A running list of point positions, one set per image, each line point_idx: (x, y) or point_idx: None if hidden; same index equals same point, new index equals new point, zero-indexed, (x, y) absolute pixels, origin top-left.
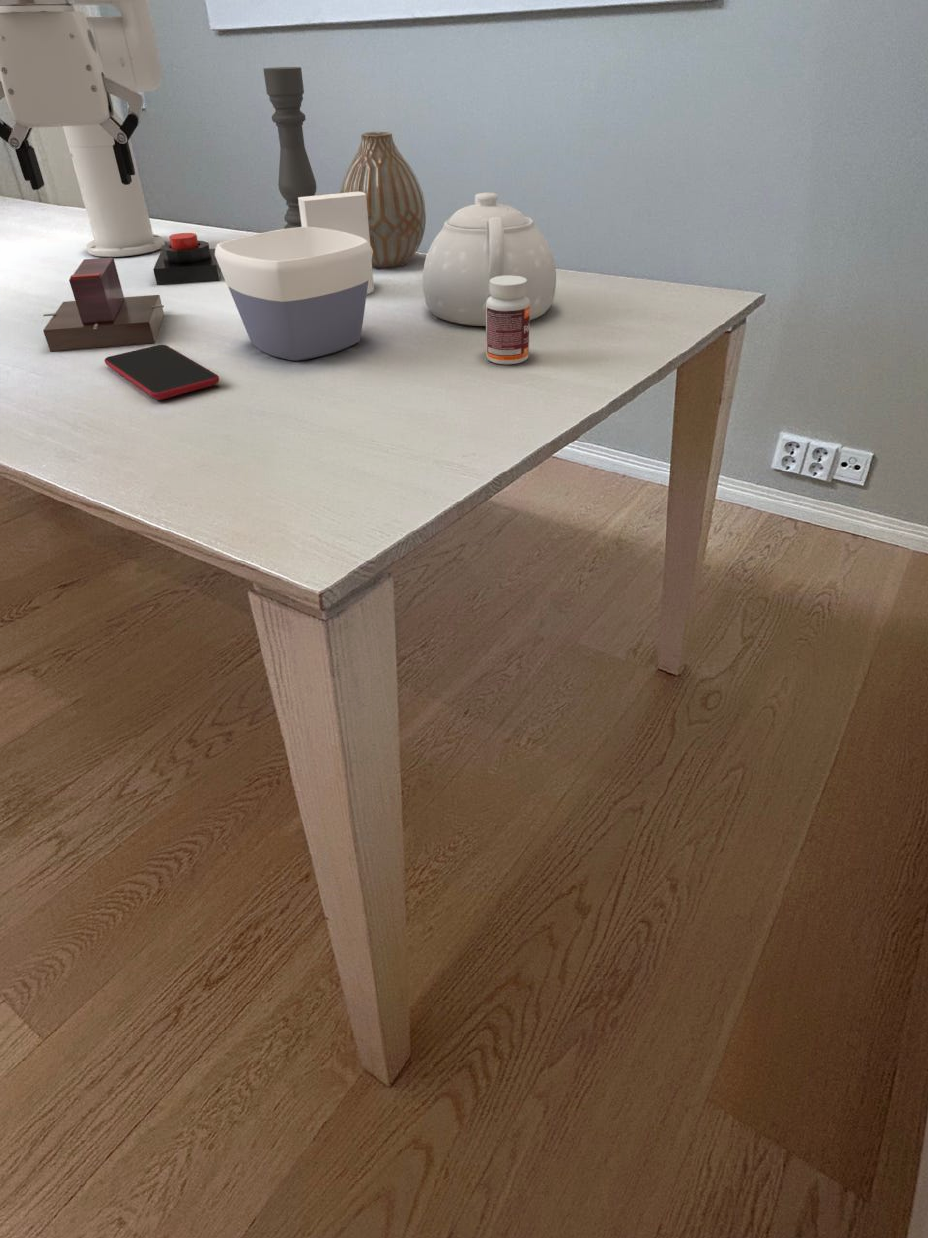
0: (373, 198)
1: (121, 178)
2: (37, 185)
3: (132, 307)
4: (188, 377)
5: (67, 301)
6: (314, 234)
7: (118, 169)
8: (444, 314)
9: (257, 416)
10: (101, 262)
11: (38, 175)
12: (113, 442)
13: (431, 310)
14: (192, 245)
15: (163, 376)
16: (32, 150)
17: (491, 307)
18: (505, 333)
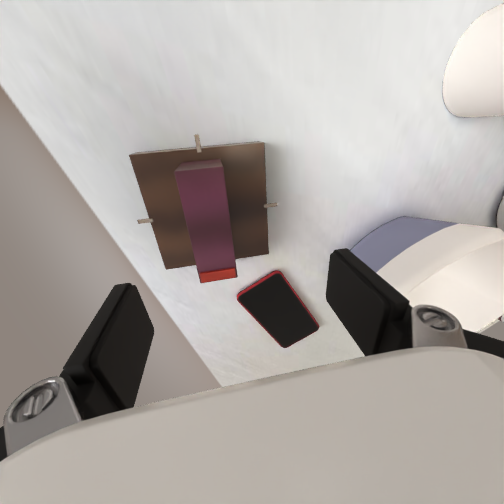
0: None
1: (331, 306)
2: (152, 336)
3: (240, 201)
4: (301, 329)
5: (135, 155)
6: (501, 243)
7: (339, 318)
8: (499, 228)
9: (332, 352)
10: (213, 200)
11: (139, 327)
12: (266, 375)
13: (501, 209)
14: None
15: (286, 328)
16: (110, 370)
17: (502, 319)
18: None
